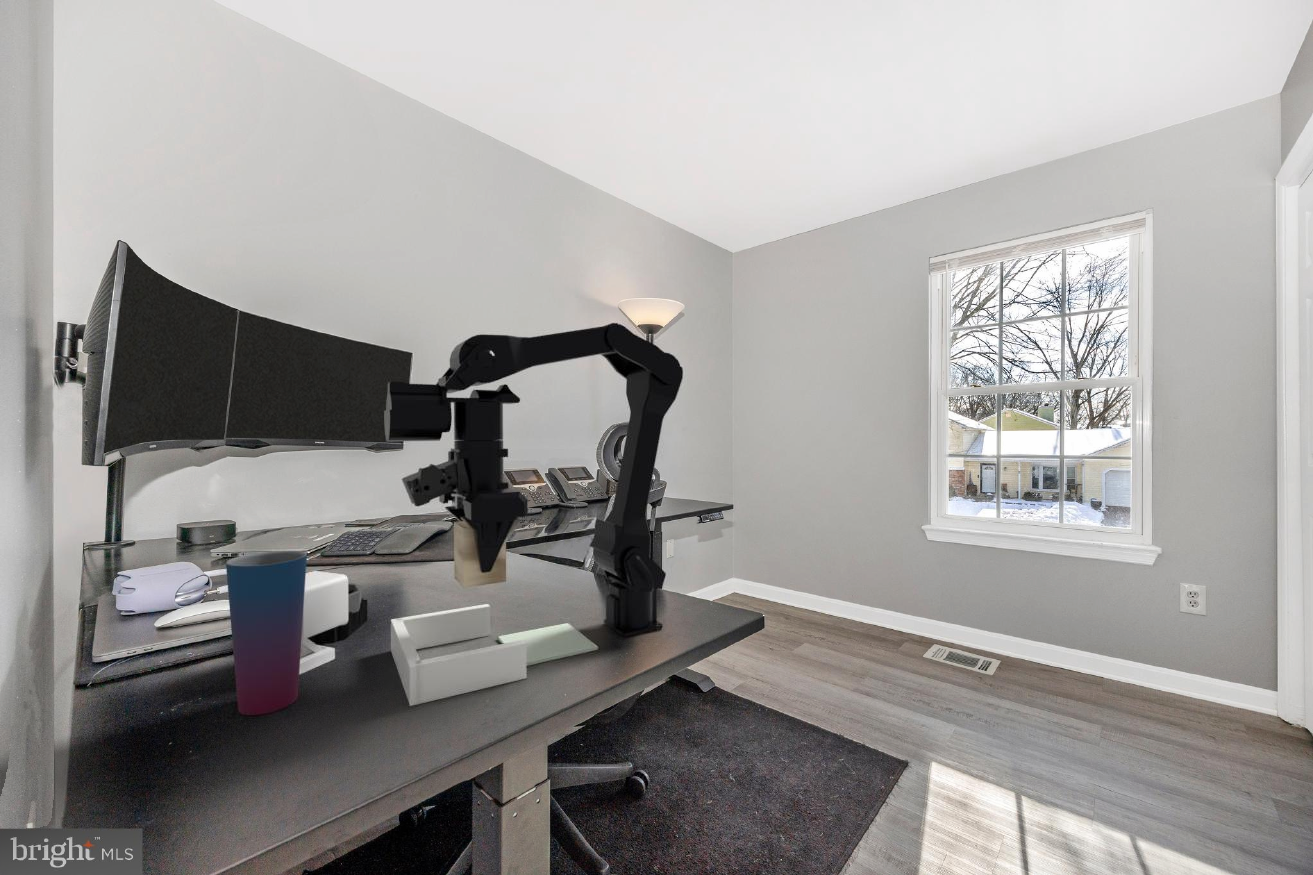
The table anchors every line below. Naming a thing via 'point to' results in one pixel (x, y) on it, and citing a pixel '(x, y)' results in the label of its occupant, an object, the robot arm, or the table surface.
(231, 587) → the cup
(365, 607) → the black and grey container
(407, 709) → the table surface
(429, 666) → the cubby
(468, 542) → the maple block
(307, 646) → the security camera
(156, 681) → the table surface
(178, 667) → the table surface
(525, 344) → the robot arm
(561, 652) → the sage mat
